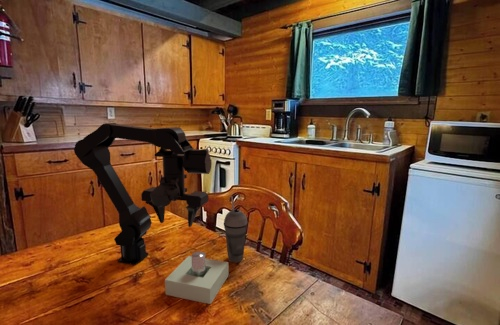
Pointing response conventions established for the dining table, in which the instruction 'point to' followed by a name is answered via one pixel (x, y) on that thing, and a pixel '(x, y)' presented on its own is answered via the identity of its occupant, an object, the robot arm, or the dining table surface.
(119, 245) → the robot arm
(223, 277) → the socket block
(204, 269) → the peg
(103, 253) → the dining table surface
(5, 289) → the dining table surface
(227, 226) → the beverage cup
